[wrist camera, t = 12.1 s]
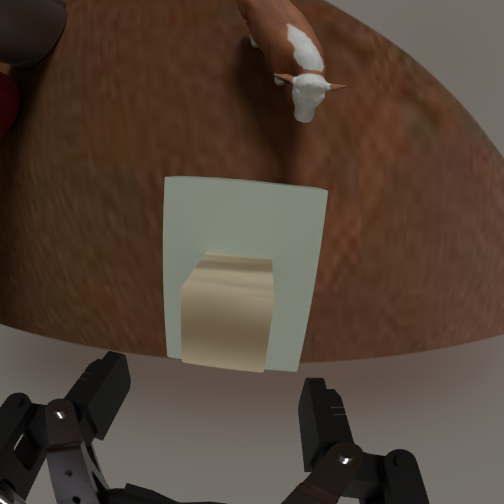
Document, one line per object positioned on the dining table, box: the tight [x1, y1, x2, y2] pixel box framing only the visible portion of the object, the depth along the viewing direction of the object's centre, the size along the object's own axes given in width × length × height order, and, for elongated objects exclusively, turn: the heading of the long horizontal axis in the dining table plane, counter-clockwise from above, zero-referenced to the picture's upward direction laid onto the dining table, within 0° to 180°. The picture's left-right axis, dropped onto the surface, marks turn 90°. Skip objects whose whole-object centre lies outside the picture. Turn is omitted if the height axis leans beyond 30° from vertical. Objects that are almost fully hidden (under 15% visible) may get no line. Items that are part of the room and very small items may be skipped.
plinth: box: [163, 176, 328, 371], centre depth 24 cm, size 16×12×4 cm
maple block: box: [180, 253, 274, 373], centre depth 19 cm, size 5×5×7 cm
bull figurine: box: [236, 0, 346, 123], centre depth 17 cm, size 4×13×8 cm, turn 19°
